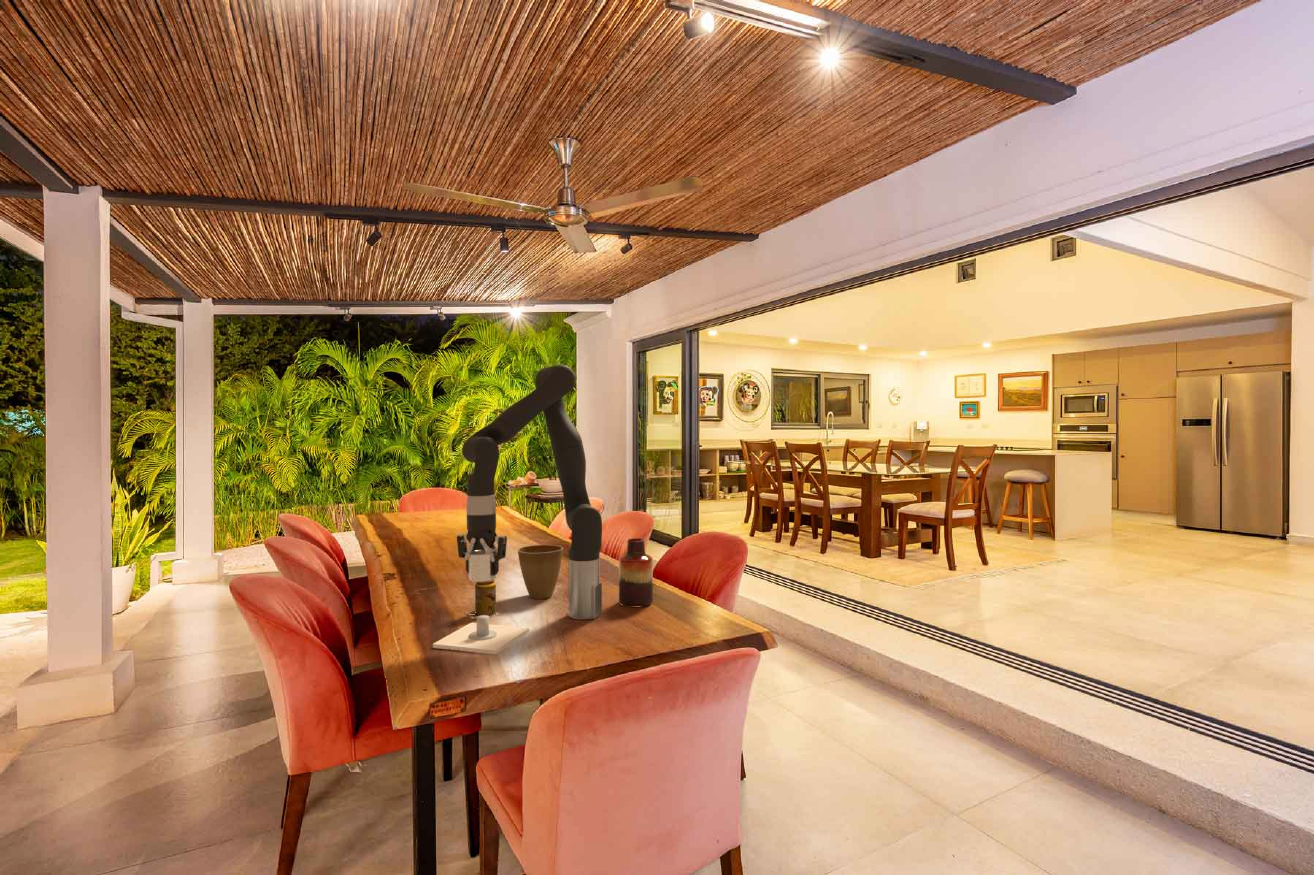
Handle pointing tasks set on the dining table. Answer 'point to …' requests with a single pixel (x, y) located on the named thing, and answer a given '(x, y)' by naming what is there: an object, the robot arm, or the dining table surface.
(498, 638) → the duct flange
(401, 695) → the dining table surface
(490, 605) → the condiment
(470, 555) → the collar
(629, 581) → the vase
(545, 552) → the plant pot
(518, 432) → the robot arm
